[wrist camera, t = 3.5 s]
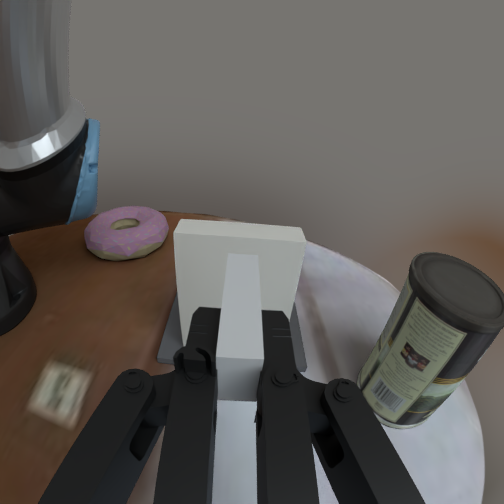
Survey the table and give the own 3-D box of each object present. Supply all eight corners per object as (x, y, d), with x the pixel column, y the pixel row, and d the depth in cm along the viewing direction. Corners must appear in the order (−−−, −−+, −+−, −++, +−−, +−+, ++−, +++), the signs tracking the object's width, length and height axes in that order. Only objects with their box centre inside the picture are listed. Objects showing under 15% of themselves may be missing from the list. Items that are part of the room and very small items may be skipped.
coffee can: (439, 371, 26) (498, 275, 19) (428, 440, 18) (521, 341, 11) (369, 343, 30) (414, 239, 23) (341, 408, 22) (406, 294, 15)
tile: (183, 348, 27) (173, 232, 20) (187, 329, 29) (181, 218, 23) (281, 354, 27) (306, 242, 21) (279, 335, 30) (300, 226, 23)
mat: (157, 362, 26) (156, 357, 25) (188, 263, 42) (188, 258, 42) (305, 371, 26) (306, 367, 26) (286, 270, 43) (287, 265, 42)
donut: (97, 277, 37) (91, 248, 34) (81, 238, 46) (76, 214, 44) (184, 249, 46) (184, 222, 44) (150, 219, 56) (149, 196, 53)
